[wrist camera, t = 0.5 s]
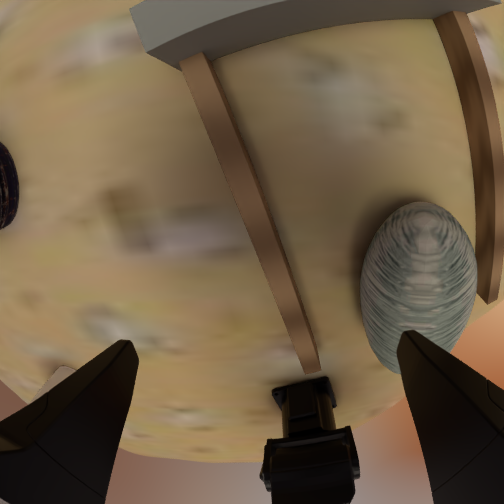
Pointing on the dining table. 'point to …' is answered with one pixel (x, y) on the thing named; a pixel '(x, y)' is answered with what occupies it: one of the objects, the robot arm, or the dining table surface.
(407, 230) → the spool
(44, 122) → the dining table surface
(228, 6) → the end stop
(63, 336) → the dining table surface
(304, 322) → the guide rails
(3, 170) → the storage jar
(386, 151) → the dining table surface
